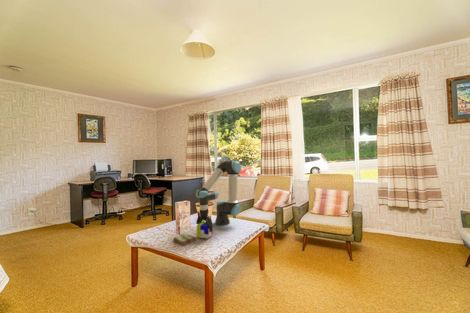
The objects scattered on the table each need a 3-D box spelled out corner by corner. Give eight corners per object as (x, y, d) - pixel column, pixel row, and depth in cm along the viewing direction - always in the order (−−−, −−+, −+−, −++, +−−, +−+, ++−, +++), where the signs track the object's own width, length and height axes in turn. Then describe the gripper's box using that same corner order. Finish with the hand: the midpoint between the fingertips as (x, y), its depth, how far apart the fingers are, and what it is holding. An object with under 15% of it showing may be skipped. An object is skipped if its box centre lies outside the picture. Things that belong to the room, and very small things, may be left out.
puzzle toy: (207, 238, 180) (207, 226, 180) (197, 237, 183) (196, 225, 183) (212, 233, 190) (212, 222, 190) (202, 232, 193) (201, 221, 192)
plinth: (186, 236, 189) (186, 233, 189) (195, 240, 181) (195, 236, 180) (173, 241, 179) (173, 237, 179) (182, 245, 171) (182, 241, 171)
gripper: (191, 207, 191) (192, 231, 191) (210, 212, 175) (211, 238, 176) (198, 206, 197) (199, 229, 197) (217, 210, 181) (217, 235, 181)
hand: (204, 233), depth 186 cm, fingers closed on puzzle toy, 12 cm apart
